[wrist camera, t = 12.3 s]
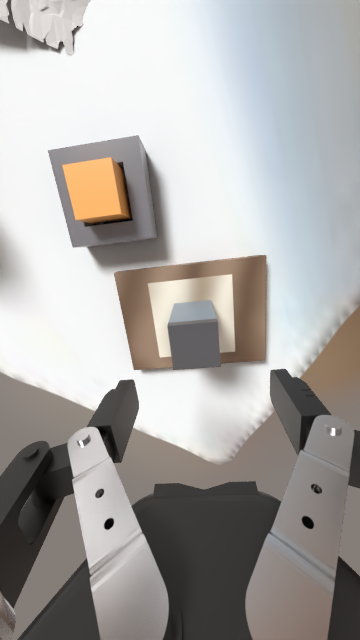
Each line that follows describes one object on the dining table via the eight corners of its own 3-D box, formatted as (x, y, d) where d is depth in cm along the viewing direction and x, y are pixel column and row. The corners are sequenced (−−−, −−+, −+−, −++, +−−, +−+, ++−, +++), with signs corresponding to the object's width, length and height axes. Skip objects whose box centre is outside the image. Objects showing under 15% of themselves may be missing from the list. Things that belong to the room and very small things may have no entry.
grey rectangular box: (210, 299, 24) (217, 321, 17) (212, 333, 25) (220, 366, 18) (174, 303, 24) (167, 326, 17) (178, 336, 25) (173, 369, 19)
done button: (123, 171, 20) (111, 157, 17) (131, 218, 21) (121, 213, 18) (82, 177, 21) (62, 165, 17) (92, 223, 22) (75, 220, 19)
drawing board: (261, 255, 24) (266, 255, 22) (261, 354, 27) (265, 360, 26) (118, 271, 25) (113, 273, 23) (136, 363, 29) (133, 370, 27)
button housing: (145, 150, 21) (138, 135, 18) (157, 238, 24) (152, 237, 21) (66, 162, 22) (47, 150, 19) (86, 247, 24) (72, 247, 21)
